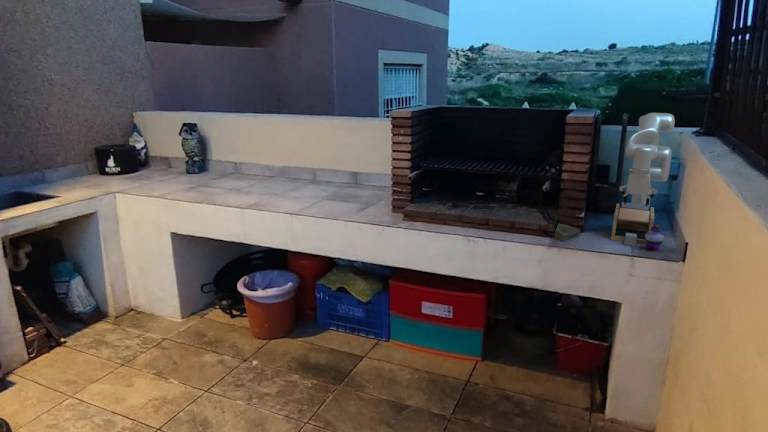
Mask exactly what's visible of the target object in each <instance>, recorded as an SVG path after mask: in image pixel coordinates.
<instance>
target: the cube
mask: <svg viewBox="0 0 768 432" xmlns="http://www.w3.org/2000/svg"><path fill="white" fill-rule="evenodd" d="M624 237H625V241H624V244H623V245H624V246H630V247H636V244H637V243H636V239H638V234H637V233H631V232H625V235H624Z"/></svg>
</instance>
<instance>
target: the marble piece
mask: <svg viewBox="0 0 768 432" xmlns="http://www.w3.org/2000/svg"><path fill="white" fill-rule="evenodd" d="M557 223H558V225H557V228H556V230H555V233H554V237H553V238H555V240H559V241H561V242H565V241H569V240H571V239H573V238H577V237H578V238H579V237H580V235H581V229H579V228H578V227H577V228H576V227H574V226H571V225H568V224H563V223H560V222H557Z"/></svg>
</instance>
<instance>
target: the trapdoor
mask: <svg viewBox="0 0 768 432" xmlns="http://www.w3.org/2000/svg"><path fill="white" fill-rule="evenodd" d="M624 203H625V202H623V201H622V202H621V205H620V207H619V217H618V220H625V221H633V222H641V223H649V215H650V210H649V209H650V205H647V207H646V206H645V204H635V203H632V202H626V204H624Z"/></svg>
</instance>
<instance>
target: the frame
mask: <svg viewBox="0 0 768 432" xmlns="http://www.w3.org/2000/svg"><path fill="white" fill-rule="evenodd" d="M620 204H621V203H616V207H615V210H614V215H613V220H612V221H613V223H612V228H611V229H612V230H611V235H610V240H612V241H619V242H625V236H622V235H616V232H617V229H623V230H624V229H626V230H632V231H642V232H646V233H652V231H651V227H653V225H654V222H655V207H650V208H649V209H650V210H649V211H650V214H649V223H641V222H633V221H625V220H618V217H619V211H620V207H621V205H620ZM636 244H640V245H646V241H645V238H644V239H642V238H637V239H636Z"/></svg>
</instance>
